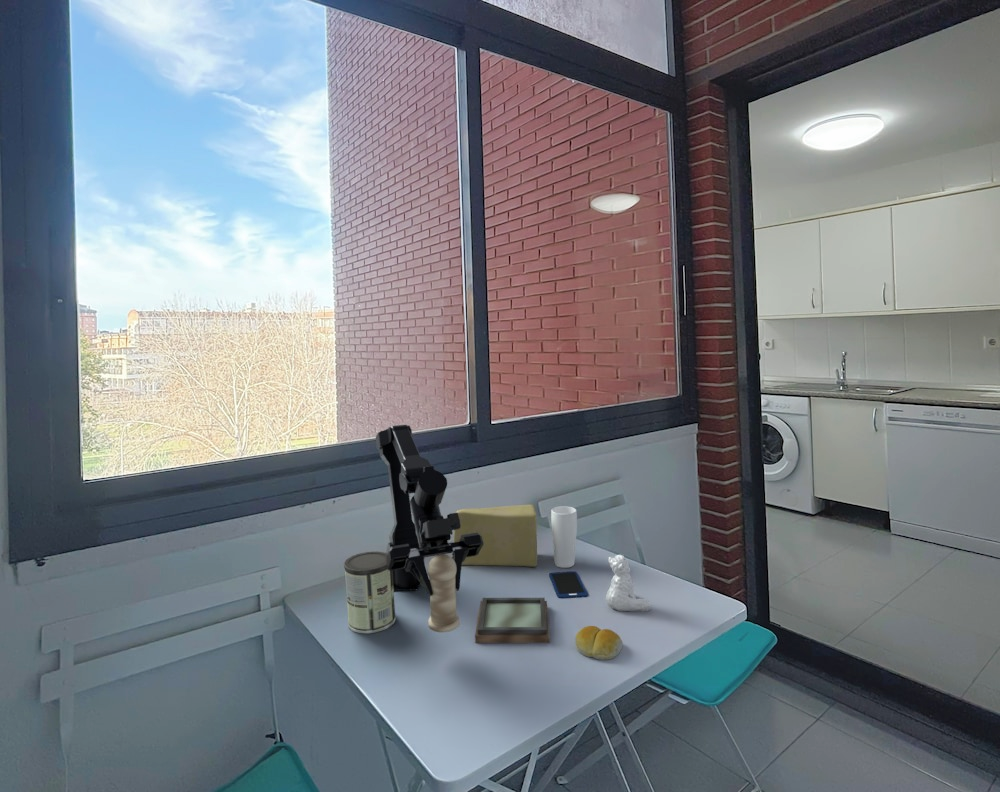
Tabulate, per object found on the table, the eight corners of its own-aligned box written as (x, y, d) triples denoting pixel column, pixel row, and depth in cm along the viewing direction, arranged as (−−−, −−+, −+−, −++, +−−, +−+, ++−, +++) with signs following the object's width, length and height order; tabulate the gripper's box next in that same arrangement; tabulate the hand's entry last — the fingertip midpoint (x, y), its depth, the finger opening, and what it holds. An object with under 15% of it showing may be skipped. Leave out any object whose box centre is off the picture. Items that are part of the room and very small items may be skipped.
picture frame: (475, 642, 121) (474, 631, 120) (480, 607, 135) (480, 596, 135) (549, 642, 120) (549, 630, 119) (546, 607, 135) (546, 596, 134)
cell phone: (558, 600, 139) (558, 597, 139) (548, 575, 152) (548, 572, 152) (589, 598, 139) (589, 595, 139) (576, 573, 153) (576, 570, 153)
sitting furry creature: (652, 611, 132) (653, 559, 130) (620, 619, 128) (620, 566, 127) (627, 593, 140) (628, 544, 139) (596, 601, 137) (596, 551, 136)
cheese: (453, 571, 155) (451, 516, 153) (455, 557, 165) (453, 504, 163) (537, 568, 156) (536, 513, 154) (534, 554, 166) (533, 501, 164)
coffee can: (364, 607, 137) (360, 549, 135) (404, 613, 133) (401, 553, 131) (337, 630, 127) (334, 567, 125) (380, 637, 124) (376, 572, 122)
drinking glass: (576, 570, 154) (576, 514, 152) (550, 569, 155) (549, 513, 153) (578, 560, 160) (577, 506, 158) (553, 558, 162) (552, 505, 160)
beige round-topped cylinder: (426, 632, 113) (423, 561, 111) (431, 616, 119) (428, 549, 117) (457, 632, 112) (455, 561, 111) (461, 616, 118) (458, 549, 117)
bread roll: (584, 633, 123) (584, 615, 123) (626, 645, 118) (626, 626, 118) (567, 653, 116) (567, 633, 116) (610, 666, 112) (610, 646, 111)
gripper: (386, 506, 113) (401, 585, 104) (479, 494, 119) (500, 567, 111) (381, 533, 121) (394, 608, 112) (467, 519, 128) (487, 589, 119)
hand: (444, 592), depth 113 cm, fingers closed on beige round-topped cylinder, 5 cm apart
